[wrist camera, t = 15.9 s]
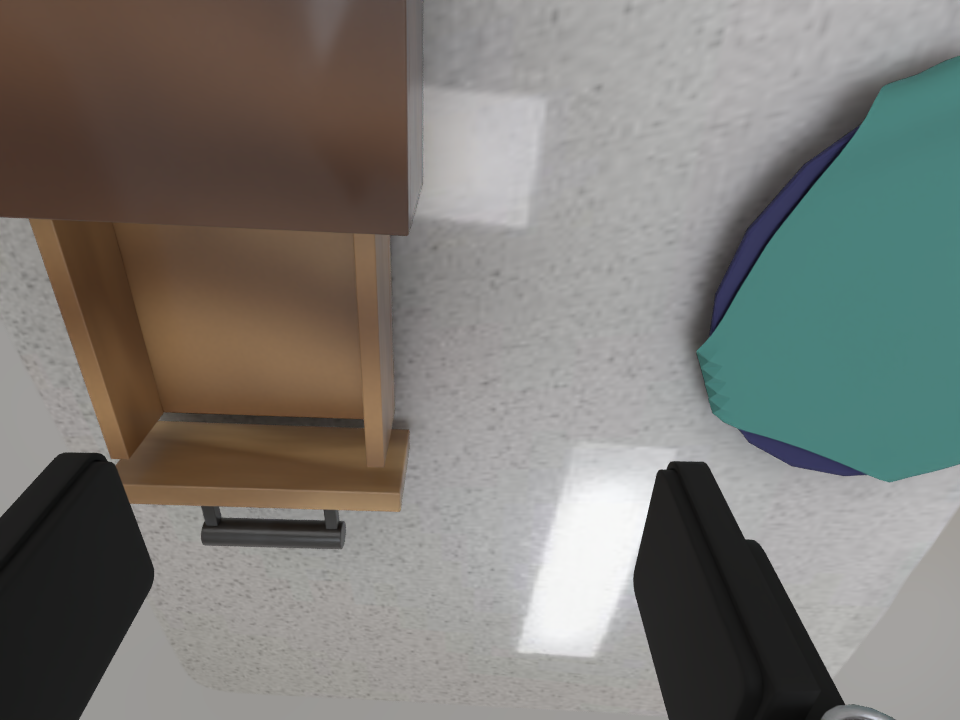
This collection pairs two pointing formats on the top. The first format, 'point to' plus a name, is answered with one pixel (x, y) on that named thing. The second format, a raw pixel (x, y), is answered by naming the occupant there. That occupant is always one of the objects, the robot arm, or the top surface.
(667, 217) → the top surface
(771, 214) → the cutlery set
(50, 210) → the cabinet
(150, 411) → the drawer
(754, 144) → the top surface
